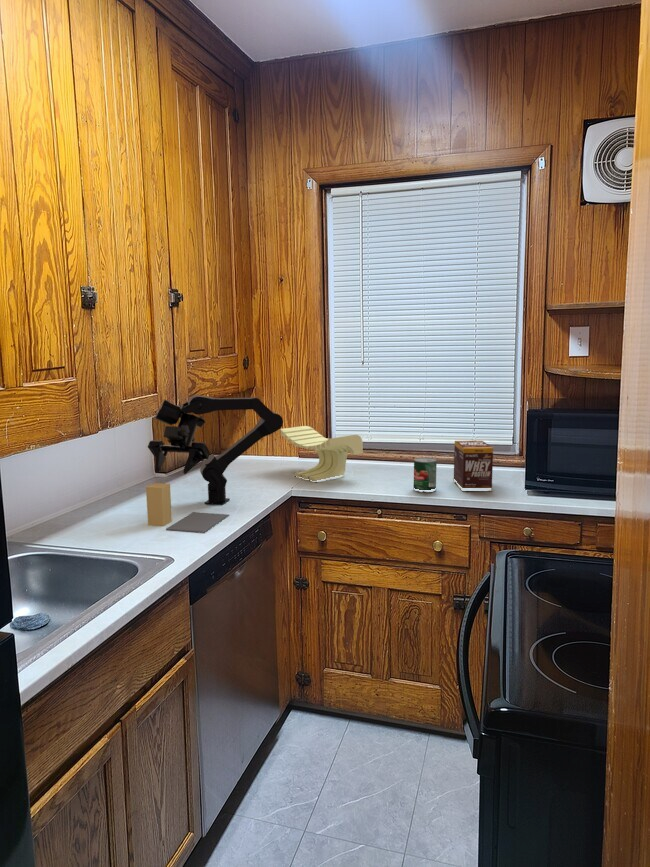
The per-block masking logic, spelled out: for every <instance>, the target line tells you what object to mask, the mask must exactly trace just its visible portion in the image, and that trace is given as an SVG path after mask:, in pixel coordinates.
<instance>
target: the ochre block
mask: <svg viewBox="0 0 650 867" xmlns="http://www.w3.org/2000/svg"><path fill="white" fill-rule="evenodd" d="M145 491H146V492H145V494H146V495H145V496H146V509H147V510H146V511H147V513H146V515H147V526H152V527H153V526H154V527H165V526H167V525H169V524H170V523H172V522H173V518H172V517H173V516H172V498H171V497H172V496H171V495H172V494H171V484H170V483H167V482H166V483H164V482H163V483H162V482H153V483H151V484H150V485H147V486H145Z"/></svg>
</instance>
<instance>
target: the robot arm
mask: <svg viewBox="0 0 650 867" xmlns="http://www.w3.org/2000/svg"><path fill="white" fill-rule="evenodd" d="M161 404H162V405H161ZM161 404H160V406H161V407H160V406H159V407H158V409H159V410H158V409H157V411H158V413H157V412H156V413H157V415H156V414H155V415H156V416H154V420H157V421H159V422H161V423H163V424H166V425H165V426H164V431H163V438H167V441H168V443H169V444H165V443H164V442H163V440H150V441H149V442H148V445H147V448H148V450H149V451H150V452H151V454H152V455H153V456H154V459H155V472H156V473H157V474H158V473H159V472H160V471H161V469H162V467H163V466H164V463H165V462H166V459H167V458H166V456H167V455H168V453H179V454H180V453H182V454H183V453H184V454H188V457H187V460H186V463H185V464H184V467H183V473H182V474H184V475H186V474H188V473H189V472H190V470H192V469H193V468H195V467H196V465H198V464H199V463H200V462H203V463H202V464H201V465H200V468H199V471H200V474H201V476H202V478H203V479H204V480H205V481H206V482H207V496H208V497H207V498H208V499H207V500H205V501H204V502H203V503H204V504H205V505H219V506H222V505H225V504H226V503H227V502H230V498H229V497H227V494H226V493H227V491H226V486H227V483H228V479H227V477H225V475H224V473H225V471H226V469H228V467H229V465H230V464H232V463H233V462H234V461H235V460H236V459H238V458H239V457H240V456H241V455H243V454H244V453H245V452H246V451H248V450H249V449H250V448H251V447H252V446H254V445H255V444H256V443H257V442H259V441H260V440H261V439H263V438H265V437H267V436H270V435H272V434H274V433H276V432H277V431H279V430H281V429H282V427H283V426H284V425H283V424H284V423H283V422H284V419H283V417H282V416H281V415H280V414H279V413H277V412H275V411H272V410H271V409H270V408H268V406H266V405H265V404H264V403H263V402H262V400H261V399H260V398H259V397H255V396H251V397H218V398H217V397H211V396H206V395H202V394H201V395H199V394H194V395H191V396H190V397H189V399H188V400H187V401H186V402H184V403H183V404H181V405H176V404H174V403H173V402H170V401H169V400H167V399H163V401H162V403H161ZM236 410H237V411H240V410H243V411H244V410H247V411H248V410H253V411H254V413H256V415H257V416H258V417H260V418H259V419H258V421H257V423H256V424H255V425H254V427H253V428H252V429H251V430H249V431H248V432H247V433H246V434H245V435H243V436H242V437H241V438H239V439H238V440H237V441H236V442H235V443H233V444H232V445H231V446H229V447H228V448H227V449H226V450H225V451H223V452H222V453H220V454H219V455H216V456H215V454H213V453H212V454H210V453H211V452H210V450H209V448H208V446H207V444H206V443H205V442H204V441H202V442H201V441H195V439H196V438H195V437H194V436H195V433H196V431H197V428H198V427H200V428H202V427H203V426H204V425H205V423H206V421H205V419H204V418H203V416H197V415H204V414H210V413H213V412H217V411H236ZM179 419H180V420H179ZM177 424H178V425H177ZM173 425H177V426H173Z"/></svg>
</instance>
